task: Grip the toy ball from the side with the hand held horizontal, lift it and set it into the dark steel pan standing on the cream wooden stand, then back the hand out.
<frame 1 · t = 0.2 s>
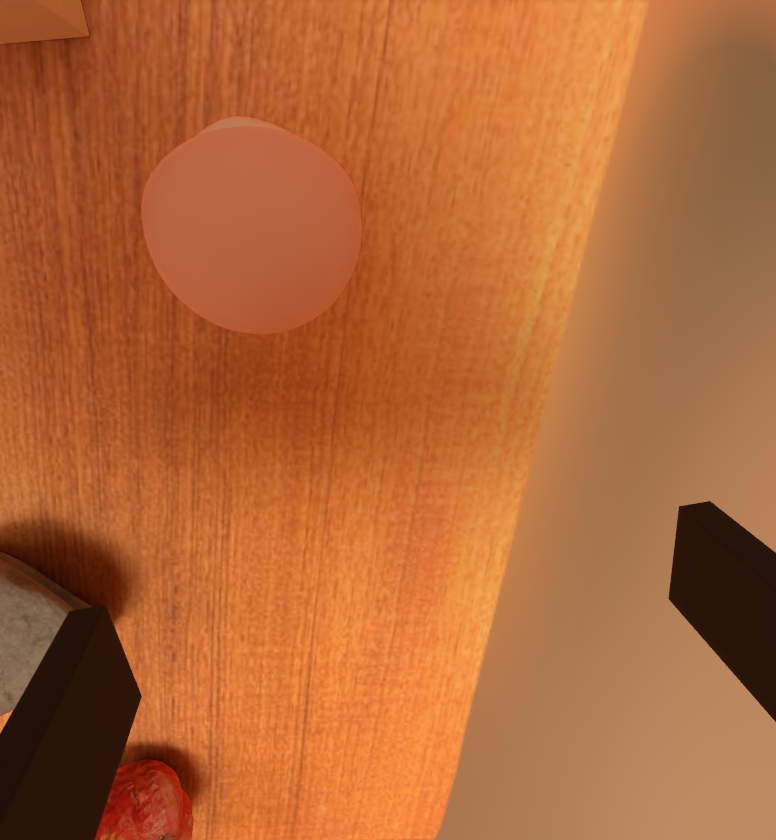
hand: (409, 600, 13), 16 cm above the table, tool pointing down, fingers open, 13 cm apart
toy ball: (268, 224, 25), on the table
pomegranate: (144, 777, 37), on the table
stone: (30, 584, 31), on the table
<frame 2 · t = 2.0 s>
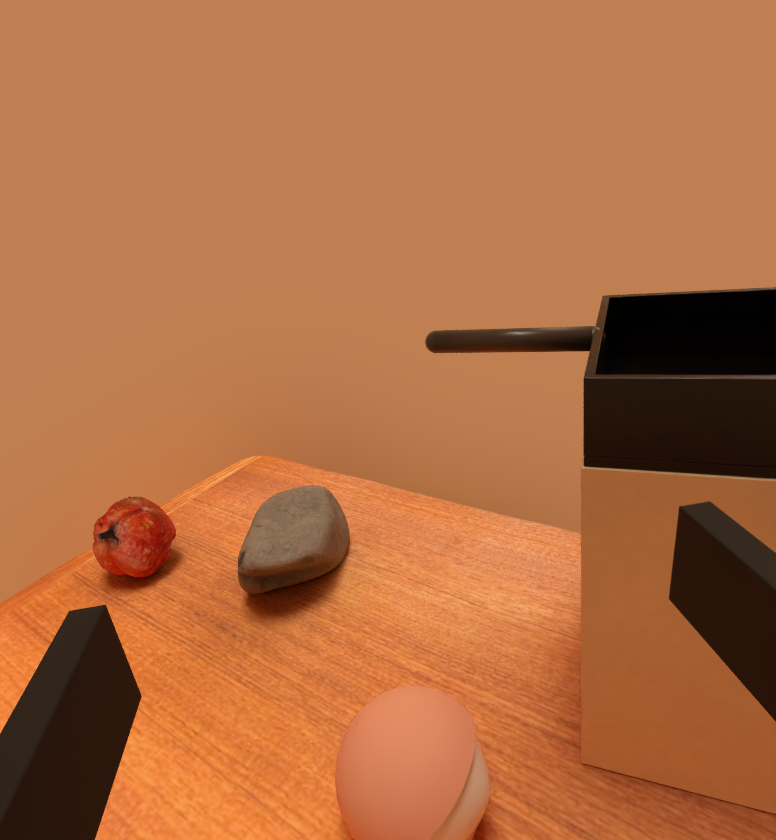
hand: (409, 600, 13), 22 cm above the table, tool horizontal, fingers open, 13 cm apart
toy ball: (423, 823, 30), on the table
pomegranate: (148, 566, 54), on the table
pan: (739, 407, 26), resting on stand
stand: (703, 692, 34), on the table
stone: (299, 576, 50), on the table
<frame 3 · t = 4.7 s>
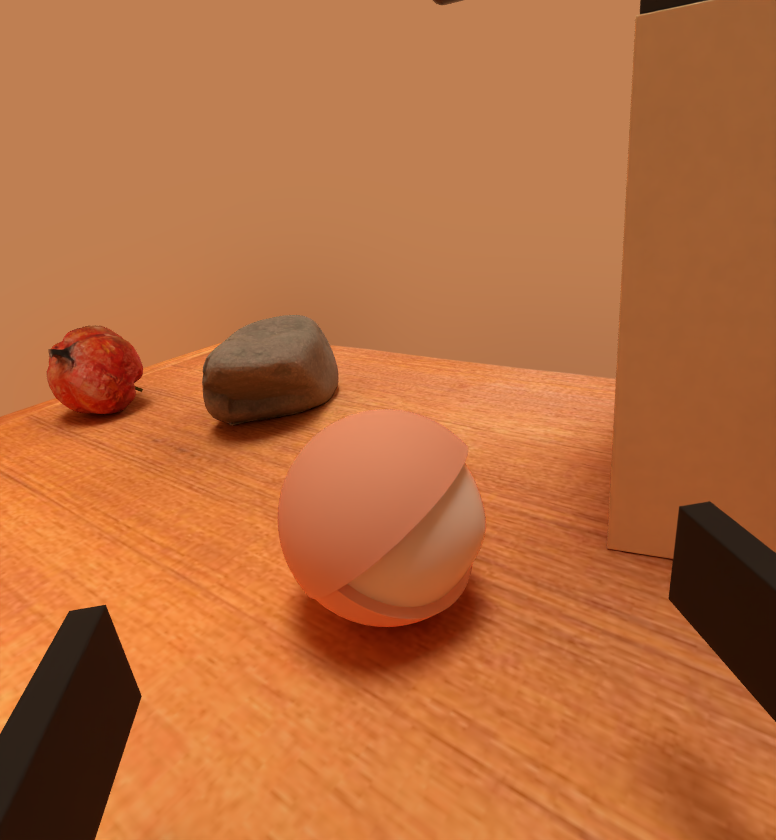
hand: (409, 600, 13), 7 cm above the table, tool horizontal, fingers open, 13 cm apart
toy ball: (395, 601, 23), on the table
pomegranate: (111, 410, 48), on the table
stand: (767, 491, 26), on the table
stone: (277, 414, 43), on the table
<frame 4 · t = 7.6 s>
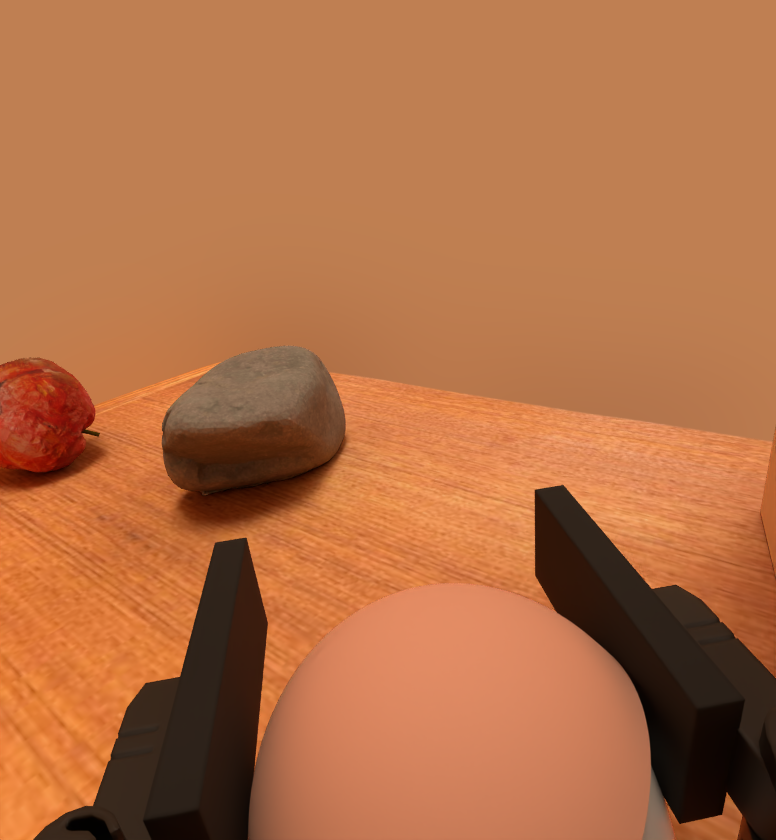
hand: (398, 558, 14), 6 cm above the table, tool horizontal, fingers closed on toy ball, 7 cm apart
pomegranate: (55, 464, 38), on the table
stone: (266, 477, 33), on the table
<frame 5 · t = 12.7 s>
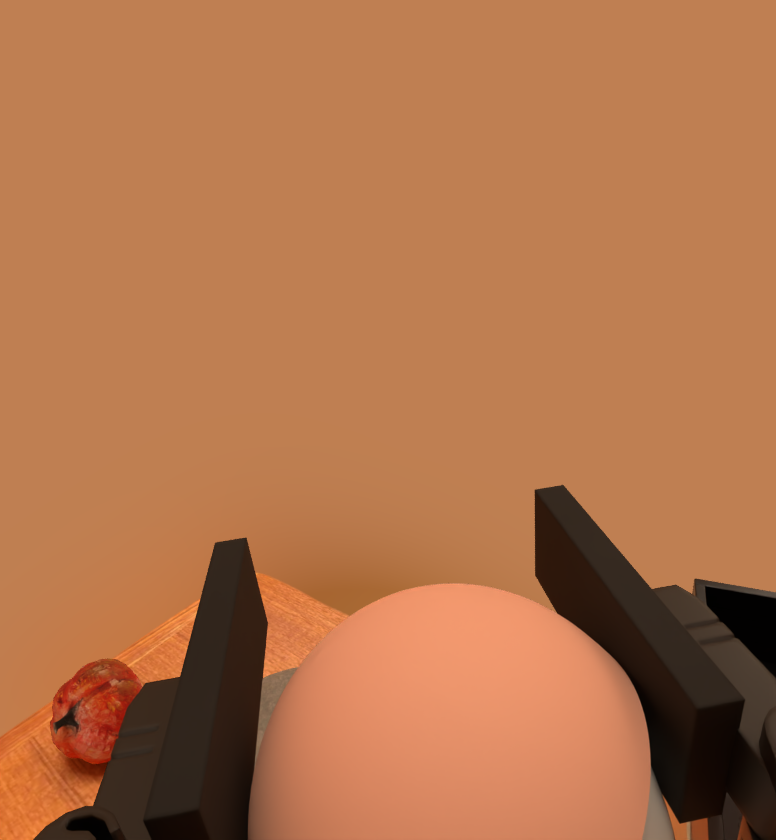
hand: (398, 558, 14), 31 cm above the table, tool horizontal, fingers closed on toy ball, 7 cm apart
pomegranate: (115, 738, 47), on the table
stone: (287, 782, 42), on the table
when the fingers open (26 cm above the table, at t = 17.7 s): toy ball stays where it is, resting on pan.
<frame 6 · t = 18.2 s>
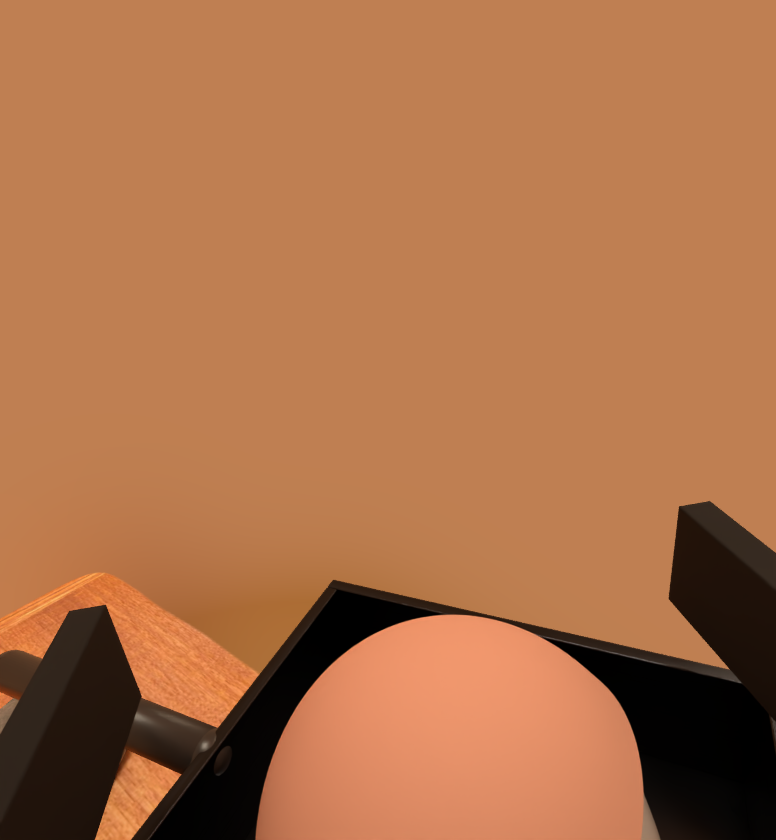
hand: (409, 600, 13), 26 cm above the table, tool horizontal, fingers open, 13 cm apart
stone: (40, 812, 37), on the table
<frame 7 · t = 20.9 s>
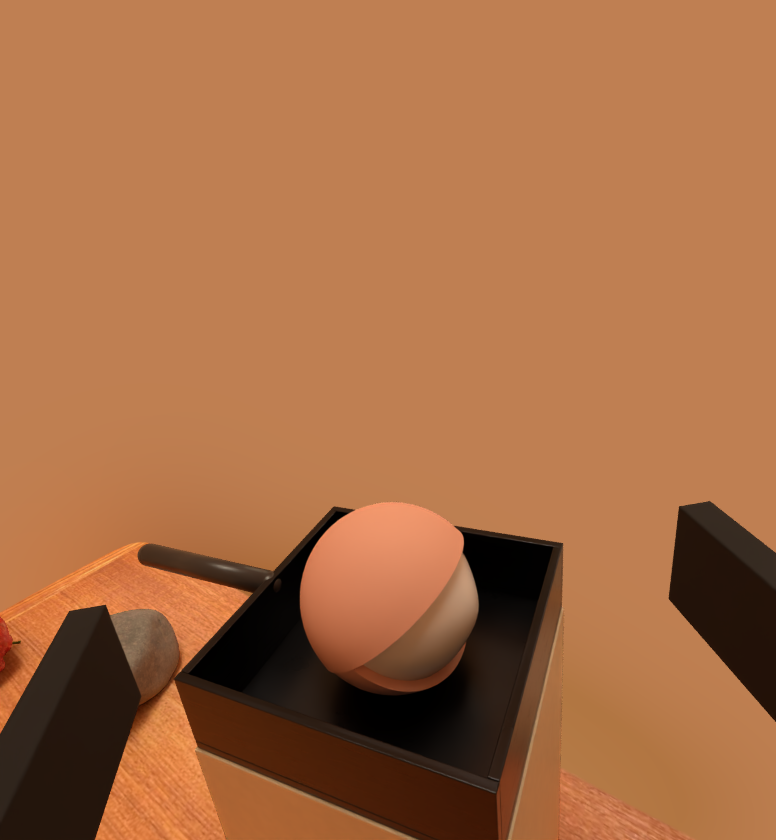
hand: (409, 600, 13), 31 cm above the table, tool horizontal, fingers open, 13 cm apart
toy ball: (399, 664, 26), point 19 cm above the table, touching pan
pan: (397, 671, 26), resting on stand
stone: (117, 704, 50), on the table
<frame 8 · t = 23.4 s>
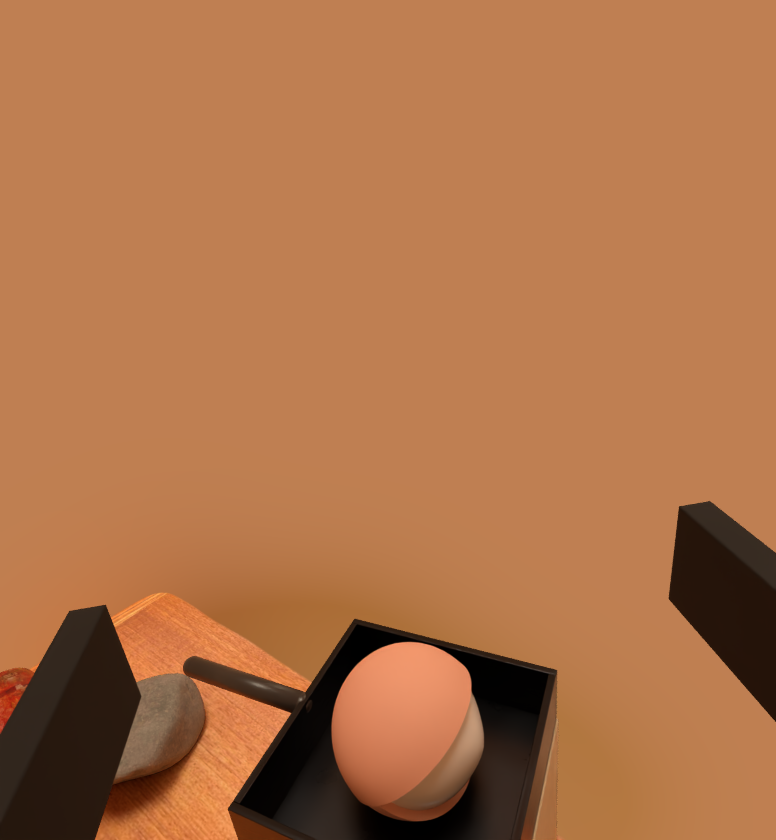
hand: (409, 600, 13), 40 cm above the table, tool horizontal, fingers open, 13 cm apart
toy ball: (415, 779, 30), point 19 cm above the table, touching pan
pomegranate: (25, 731, 59), on the table
pan: (413, 784, 30), resting on stand
stone: (150, 764, 54), on the table
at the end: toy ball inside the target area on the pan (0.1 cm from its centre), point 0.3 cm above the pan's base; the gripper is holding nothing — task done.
